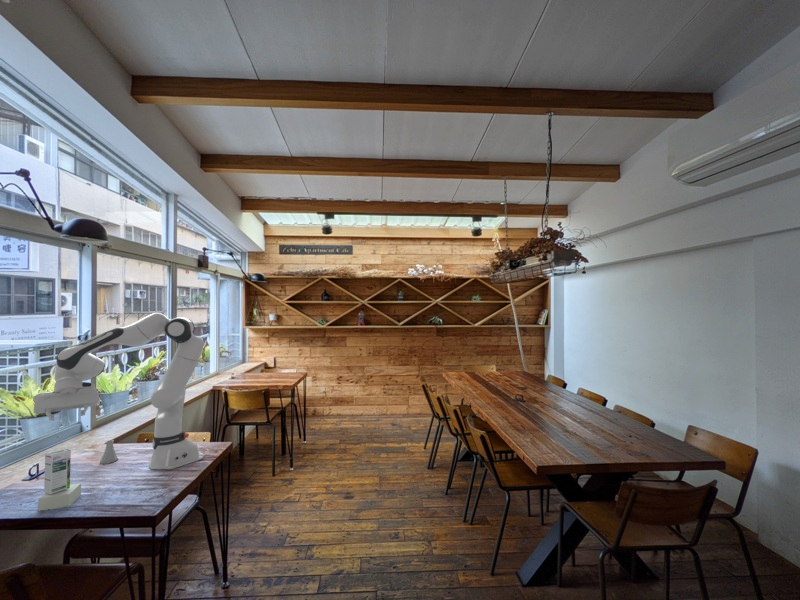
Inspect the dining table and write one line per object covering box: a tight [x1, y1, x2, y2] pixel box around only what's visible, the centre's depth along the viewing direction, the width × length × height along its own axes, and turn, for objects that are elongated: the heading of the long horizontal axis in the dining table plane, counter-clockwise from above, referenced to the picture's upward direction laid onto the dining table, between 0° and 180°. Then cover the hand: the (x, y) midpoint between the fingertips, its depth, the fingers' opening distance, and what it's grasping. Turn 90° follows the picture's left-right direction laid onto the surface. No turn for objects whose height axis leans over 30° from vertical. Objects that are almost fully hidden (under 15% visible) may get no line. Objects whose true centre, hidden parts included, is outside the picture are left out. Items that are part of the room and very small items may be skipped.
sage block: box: [37, 482, 82, 512], centre depth 132 cm, size 9×9×5 cm
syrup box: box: [43, 448, 72, 494], centre depth 132 cm, size 6×6×14 cm
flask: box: [99, 439, 119, 465], centre depth 170 cm, size 7×7×10 cm
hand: (67, 417), depth 144 cm, fingers open, 8 cm apart
